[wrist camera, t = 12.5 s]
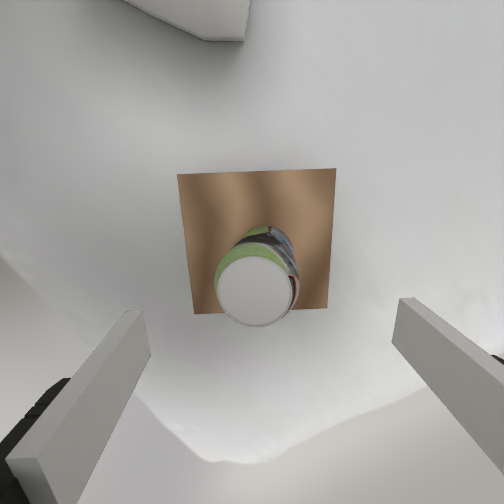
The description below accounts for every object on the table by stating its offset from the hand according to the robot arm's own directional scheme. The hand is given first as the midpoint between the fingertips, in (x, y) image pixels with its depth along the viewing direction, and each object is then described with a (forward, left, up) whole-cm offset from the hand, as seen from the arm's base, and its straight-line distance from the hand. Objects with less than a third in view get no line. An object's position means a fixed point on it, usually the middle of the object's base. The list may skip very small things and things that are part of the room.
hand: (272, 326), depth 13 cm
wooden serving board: (0, 0, -19) cm, 19 cm away
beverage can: (0, 0, -15) cm, 15 cm away
